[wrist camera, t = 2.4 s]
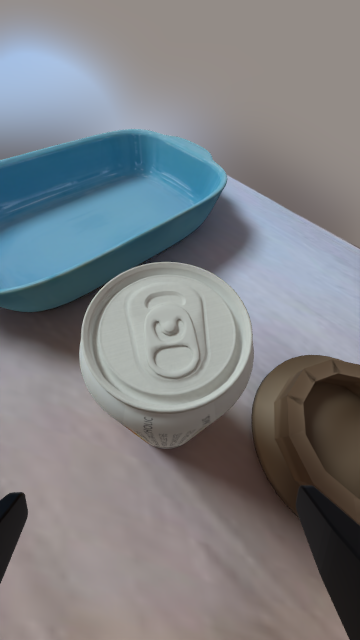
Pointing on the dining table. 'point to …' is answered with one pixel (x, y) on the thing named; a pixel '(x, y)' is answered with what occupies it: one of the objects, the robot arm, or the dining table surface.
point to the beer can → (166, 350)
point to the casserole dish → (97, 211)
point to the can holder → (311, 430)
